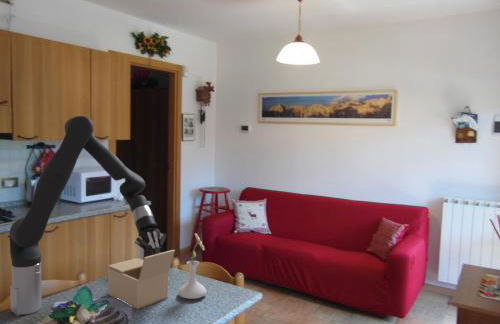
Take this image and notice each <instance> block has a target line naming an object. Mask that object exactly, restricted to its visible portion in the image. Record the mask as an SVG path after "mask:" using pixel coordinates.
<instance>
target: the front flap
mask: <svg viewBox="0 0 500 324" xmlns="http://www.w3.org/2000/svg"><path fill="white" fill-rule="evenodd" d="M175 251H176V250H175V249H171V250H167V251H163V252H161V253H159V254H155V255H151V256H148V257H144V261H143V265H142V269H141V272H140V276H139V281H141V280H144V279H147V278H150V277H153V276H157V275H160V274H163V273H166V272H168V273H169V272H170V268H171V266H172V262H173V259H174V256H175Z"/></svg>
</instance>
